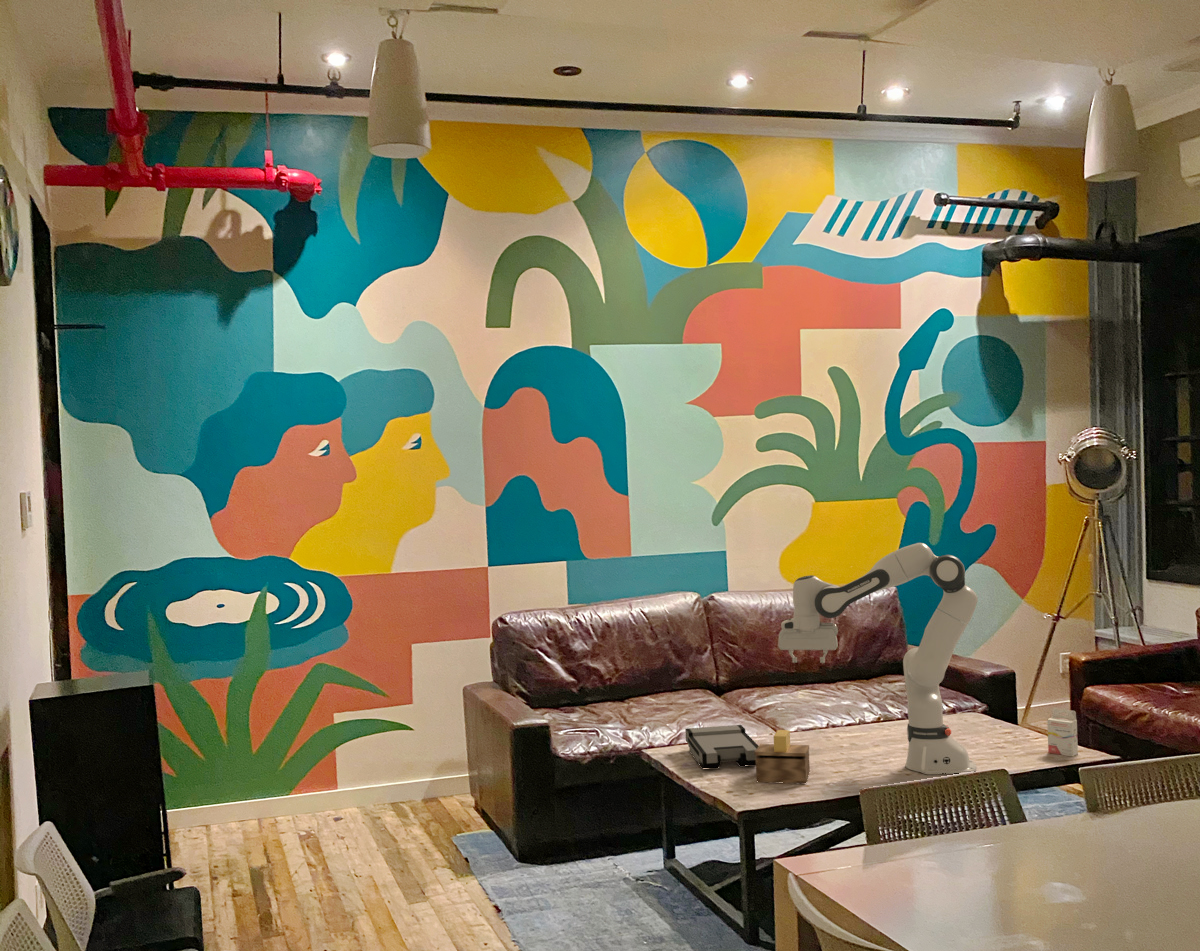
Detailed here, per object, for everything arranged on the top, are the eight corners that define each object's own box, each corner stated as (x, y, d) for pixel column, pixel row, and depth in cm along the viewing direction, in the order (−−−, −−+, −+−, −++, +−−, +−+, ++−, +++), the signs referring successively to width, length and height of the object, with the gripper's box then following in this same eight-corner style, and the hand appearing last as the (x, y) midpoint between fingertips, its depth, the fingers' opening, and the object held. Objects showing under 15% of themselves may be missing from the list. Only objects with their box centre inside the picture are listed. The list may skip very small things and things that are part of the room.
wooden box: (809, 772, 370) (808, 748, 370) (806, 784, 357) (805, 759, 357) (761, 770, 375) (760, 747, 375) (756, 782, 361) (755, 758, 361)
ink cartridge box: (1047, 753, 380) (1045, 710, 380) (1053, 750, 384) (1051, 707, 384) (1073, 756, 375) (1071, 713, 374) (1078, 753, 378) (1076, 710, 378)
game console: (703, 774, 374) (701, 750, 374) (686, 750, 406) (685, 728, 406) (763, 770, 376) (762, 746, 376) (741, 747, 408) (740, 724, 408)
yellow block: (790, 745, 371) (789, 730, 371) (786, 752, 359) (786, 736, 360) (778, 745, 372) (777, 730, 372) (774, 751, 360) (773, 736, 361)
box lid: (809, 748, 370) (809, 745, 370) (805, 756, 356) (805, 753, 356) (760, 747, 375) (760, 744, 375) (754, 755, 361) (754, 752, 361)
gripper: (838, 621, 384) (839, 661, 384) (778, 621, 389) (780, 660, 389) (837, 623, 378) (838, 664, 378) (776, 624, 383) (778, 664, 383)
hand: (808, 662), depth 384 cm, fingers open, 8 cm apart
